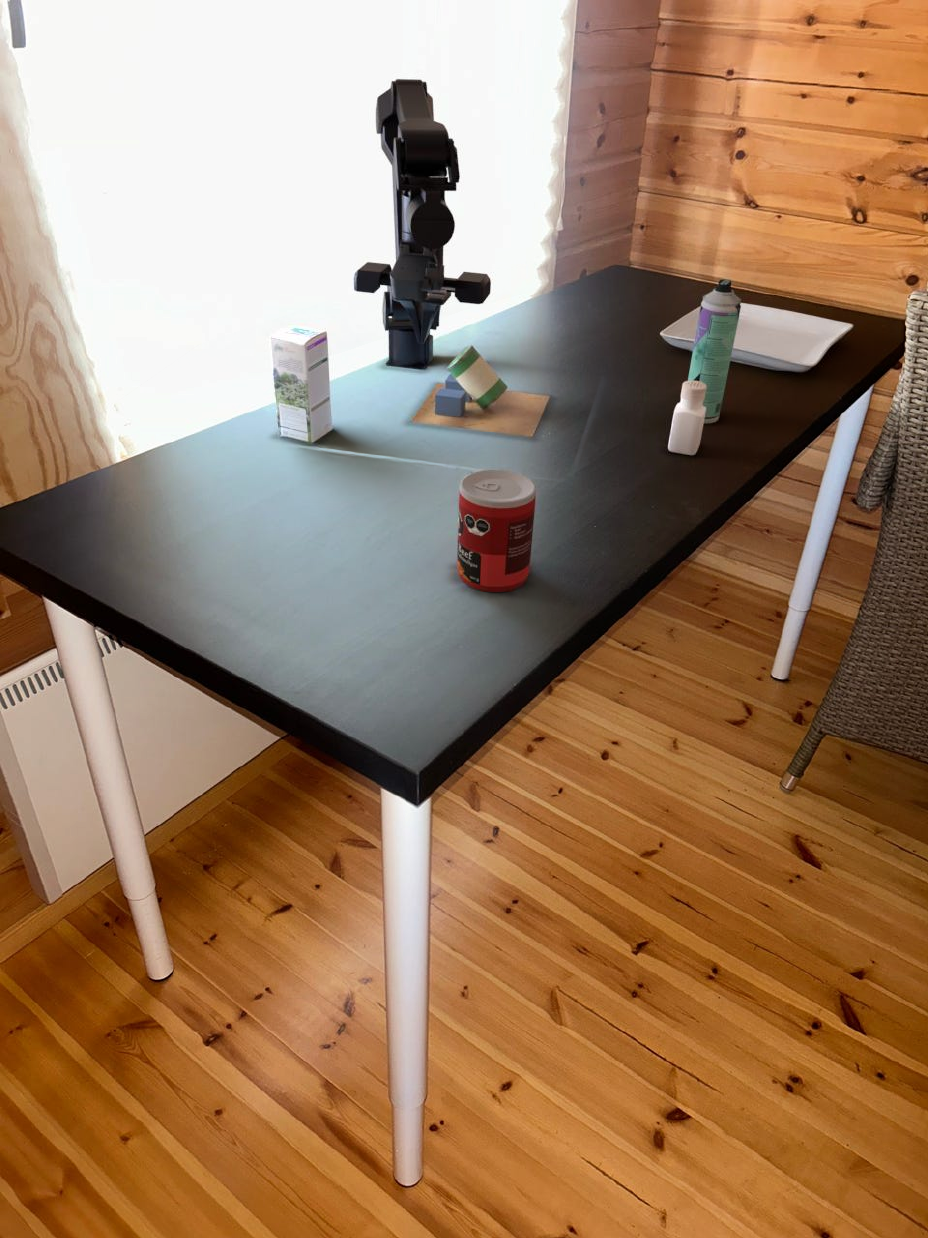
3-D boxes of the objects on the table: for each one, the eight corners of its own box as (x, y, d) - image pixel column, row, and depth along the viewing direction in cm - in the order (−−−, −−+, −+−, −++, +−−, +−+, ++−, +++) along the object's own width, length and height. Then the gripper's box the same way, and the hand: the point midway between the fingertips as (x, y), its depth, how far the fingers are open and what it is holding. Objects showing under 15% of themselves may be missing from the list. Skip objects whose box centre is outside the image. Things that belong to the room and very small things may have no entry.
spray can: (716, 410, 146) (742, 276, 134) (720, 424, 141) (748, 287, 130) (680, 407, 146) (703, 274, 135) (683, 422, 142) (707, 284, 130)
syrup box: (334, 430, 135) (329, 329, 127) (311, 446, 130) (304, 341, 122) (299, 422, 137) (292, 322, 128) (276, 437, 132) (267, 334, 124)
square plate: (850, 342, 175) (856, 321, 172) (808, 386, 155) (814, 363, 153) (709, 314, 186) (713, 293, 184) (654, 352, 167) (657, 330, 165)
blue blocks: (434, 414, 140) (434, 394, 138) (449, 392, 147) (449, 373, 145) (460, 417, 139) (461, 398, 138) (474, 395, 147) (475, 376, 145)
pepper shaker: (666, 452, 133) (677, 387, 127) (671, 441, 136) (682, 377, 130) (695, 457, 132) (707, 391, 126) (699, 446, 135) (711, 381, 129)
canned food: (454, 557, 107) (456, 469, 101) (523, 556, 108) (531, 468, 102) (459, 594, 101) (462, 502, 95) (533, 593, 102) (541, 502, 96)
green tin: (442, 409, 141) (443, 349, 136) (450, 397, 145) (452, 338, 140) (502, 417, 140) (506, 356, 135) (508, 404, 144) (512, 345, 139)
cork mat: (410, 423, 138) (410, 421, 138) (437, 384, 151) (437, 382, 150) (532, 439, 135) (532, 436, 135) (550, 398, 148) (550, 395, 147)
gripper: (338, 237, 125) (343, 353, 134) (476, 250, 122) (471, 368, 131) (364, 219, 134) (367, 329, 143) (494, 231, 131) (488, 342, 140)
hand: (422, 342), depth 139 cm, fingers closed
